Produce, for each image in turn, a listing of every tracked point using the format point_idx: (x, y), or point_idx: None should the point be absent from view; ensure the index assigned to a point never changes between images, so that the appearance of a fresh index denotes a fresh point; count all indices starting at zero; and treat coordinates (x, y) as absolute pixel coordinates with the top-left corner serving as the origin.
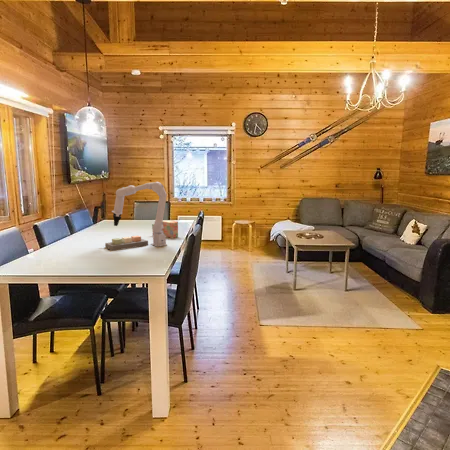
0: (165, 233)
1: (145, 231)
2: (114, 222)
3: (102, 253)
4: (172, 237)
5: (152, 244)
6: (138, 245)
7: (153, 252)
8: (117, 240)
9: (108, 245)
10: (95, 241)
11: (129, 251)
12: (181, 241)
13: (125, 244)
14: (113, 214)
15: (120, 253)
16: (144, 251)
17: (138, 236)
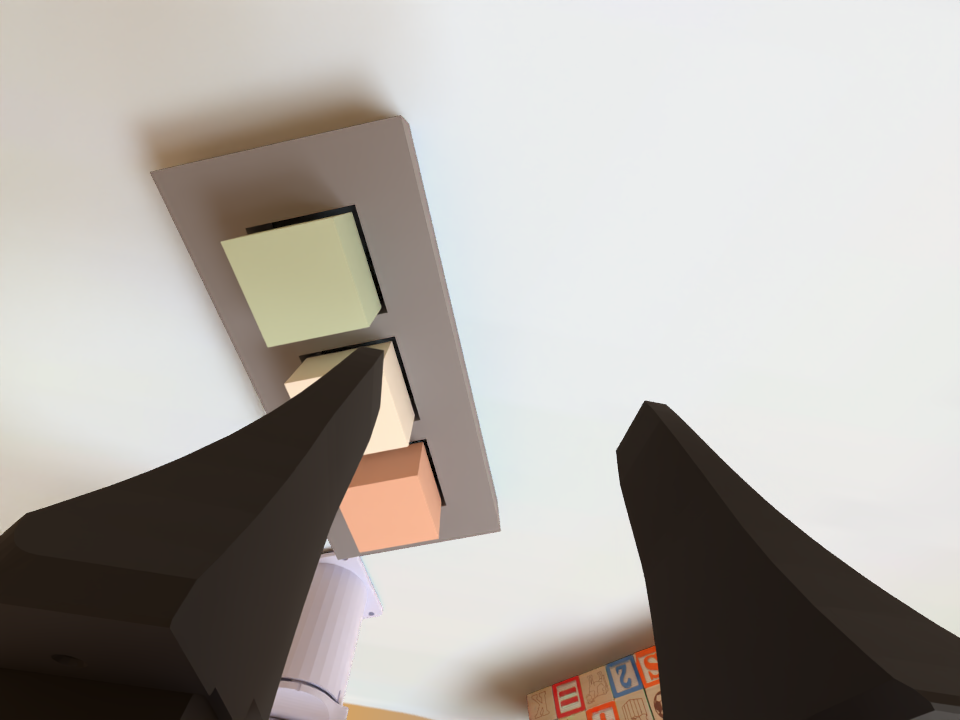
0: (602, 703)
1: (928, 611)
2: (310, 397)
3: (31, 4)
4: (533, 697)
5: (323, 557)
6: None
7: (28, 505)
8: (244, 280)
9: (284, 144)
10: (881, 57)
11: (104, 340)
12: (383, 706)
13: (239, 351)
14: (852, 645)
15: (10, 234)
16: (81, 455)
17: (378, 534)
